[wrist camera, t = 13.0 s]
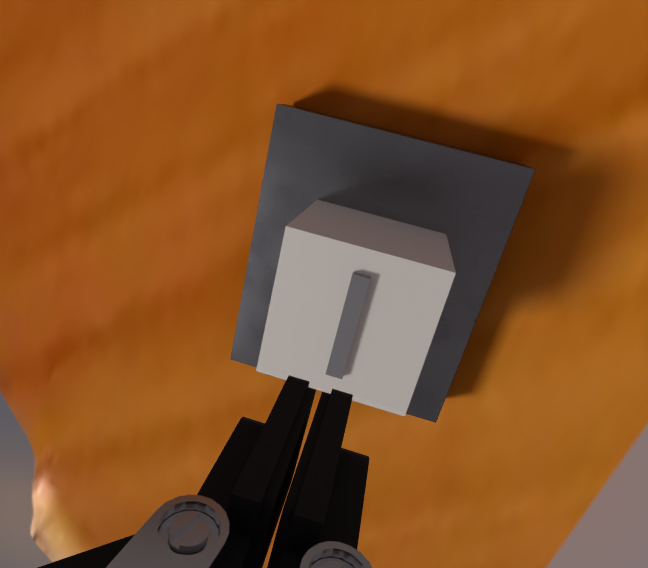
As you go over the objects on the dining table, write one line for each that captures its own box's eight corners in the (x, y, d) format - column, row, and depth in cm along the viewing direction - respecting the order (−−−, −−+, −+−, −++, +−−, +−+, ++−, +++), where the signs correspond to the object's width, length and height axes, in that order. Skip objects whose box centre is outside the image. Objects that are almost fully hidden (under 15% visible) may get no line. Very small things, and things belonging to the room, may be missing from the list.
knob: (407, 349, 25) (404, 421, 19) (291, 315, 25) (253, 374, 20) (446, 234, 22) (456, 275, 17) (317, 199, 23) (283, 227, 17)
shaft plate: (434, 402, 28) (439, 473, 22) (242, 343, 29) (200, 397, 23) (525, 165, 23) (560, 181, 17) (287, 104, 24) (248, 101, 18)
